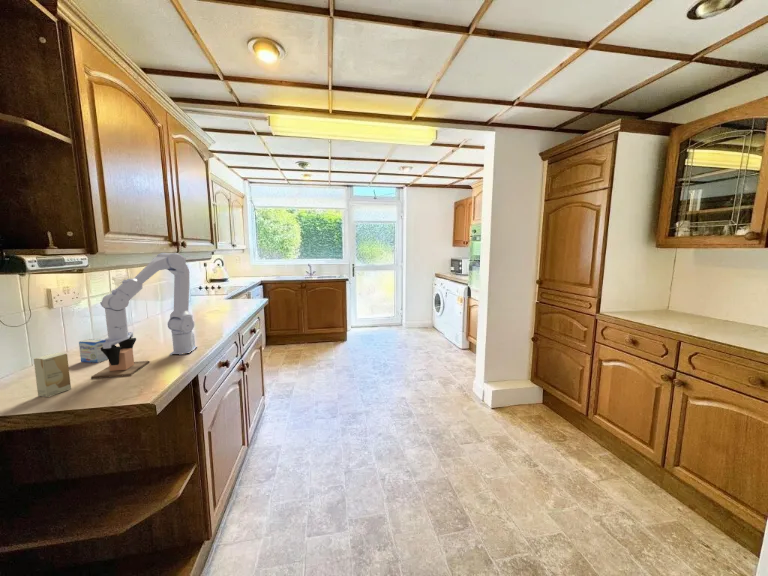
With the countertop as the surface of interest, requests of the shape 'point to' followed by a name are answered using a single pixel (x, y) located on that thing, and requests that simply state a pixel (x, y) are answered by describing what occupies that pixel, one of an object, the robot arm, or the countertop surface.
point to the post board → (120, 371)
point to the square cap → (124, 360)
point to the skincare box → (52, 374)
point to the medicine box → (92, 350)
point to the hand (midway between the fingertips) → (121, 361)
